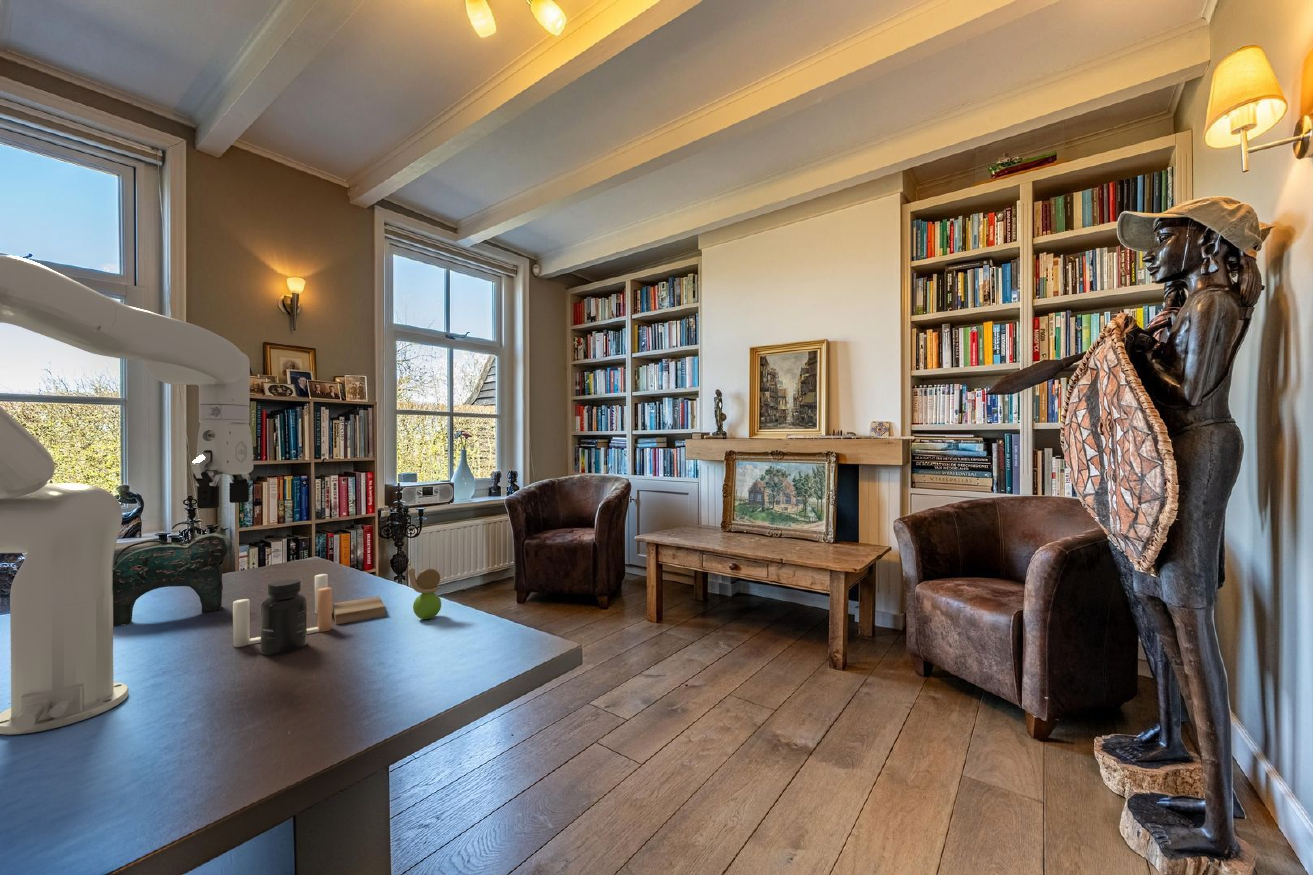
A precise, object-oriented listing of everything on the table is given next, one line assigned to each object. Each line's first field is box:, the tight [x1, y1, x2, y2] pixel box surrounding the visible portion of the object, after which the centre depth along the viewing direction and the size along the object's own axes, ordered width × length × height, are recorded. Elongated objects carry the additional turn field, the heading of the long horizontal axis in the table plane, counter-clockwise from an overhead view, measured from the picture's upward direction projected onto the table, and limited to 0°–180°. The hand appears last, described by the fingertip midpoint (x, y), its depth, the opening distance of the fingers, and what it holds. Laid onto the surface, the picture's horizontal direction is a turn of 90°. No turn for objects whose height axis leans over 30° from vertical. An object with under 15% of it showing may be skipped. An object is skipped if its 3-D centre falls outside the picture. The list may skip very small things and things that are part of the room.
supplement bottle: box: [260, 578, 308, 656], centre depth 96 cm, size 7×7×12 cm
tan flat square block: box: [332, 596, 386, 625], centre depth 114 cm, size 9×9×2 cm
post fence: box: [232, 573, 333, 648], centre depth 107 cm, size 15×15×8 cm
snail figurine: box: [407, 562, 442, 620], centre depth 111 cm, size 5×6×12 cm
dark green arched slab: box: [113, 521, 232, 628], centre depth 114 cm, size 20×6×20 cm, turn 126°
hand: (224, 505), depth 101 cm, fingers open, 9 cm apart
